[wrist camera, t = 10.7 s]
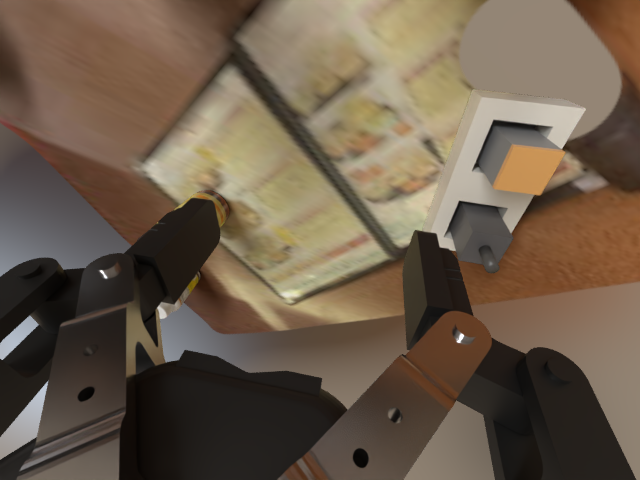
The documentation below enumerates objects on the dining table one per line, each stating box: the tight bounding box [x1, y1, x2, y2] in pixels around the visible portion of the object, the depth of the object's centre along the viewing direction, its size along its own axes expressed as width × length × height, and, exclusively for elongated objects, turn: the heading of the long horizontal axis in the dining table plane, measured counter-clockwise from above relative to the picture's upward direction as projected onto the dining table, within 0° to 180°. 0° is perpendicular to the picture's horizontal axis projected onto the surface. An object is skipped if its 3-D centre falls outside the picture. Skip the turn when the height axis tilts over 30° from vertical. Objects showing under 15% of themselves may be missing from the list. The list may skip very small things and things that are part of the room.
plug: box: [477, 121, 566, 195], centre depth 28 cm, size 4×4×8 cm
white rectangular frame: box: [423, 89, 586, 273], centre depth 30 cm, size 18×9×12 cm, turn 176°
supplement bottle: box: [157, 271, 200, 319], centre depth 53 cm, size 6×6×10 cm
